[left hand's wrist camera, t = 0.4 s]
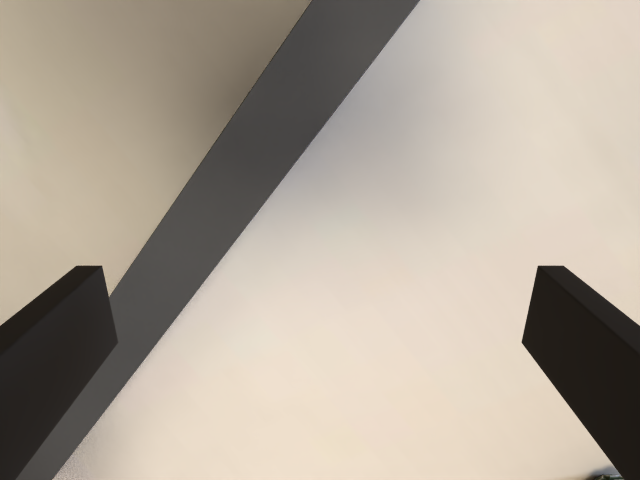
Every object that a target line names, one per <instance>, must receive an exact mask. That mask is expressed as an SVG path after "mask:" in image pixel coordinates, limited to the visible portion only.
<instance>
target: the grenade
mask: <svg viewBox="0 0 640 480" xmlns="http://www.w3.org/2000/svg"><path fill="white" fill-rule="evenodd" d="M595 480H624V478H623V477H621V476H619V475H601V476H600V477H598V478H596V479H595Z"/></svg>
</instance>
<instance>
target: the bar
mask: <svg viewBox="0 0 640 480" xmlns="http://www.w3.org/2000/svg"><path fill="white" fill-rule="evenodd" d="M419 1H420V0H312V1H311V3H310V4H309V6H308V7H307V9H306V10H305V11H304V13H303V14H302V16H301V17H300V19H299V20H298V22H297V23H296V25H295V26H294V28H293V29H292V31H291V32H290V33H289V35H288V36H287V38H286V39H285V41H284V42H283V44H282V45H281V47H280V48H279V50H278V51H277V52H276V54H275V55H274V57H273V58H272V60H271V61H270V63H269V64H268V66H267V67H266V69H265V70H264V71H263V73H262V74H261V76H260V77H259V79H258V80H257V82H256V83H255V85H254V86H253V88H252V89H251V90H250V92H249V93H248V95H247V96H246V98H245V99H244V101H243V102H242V104H241V105H240V107H239V108H238V109H237V111H236V112H235V114H234V115H233V117H232V118H231V120H230V121H229V123H228V124H227V126H226V127H225V128H224V130H223V131H222V133H221V134H220V136H219V137H218V139H217V140H216V142H215V143H214V145H213V146H212V148H211V149H210V150H209V152H208V153H207V155H206V156H205V158H204V159H203V161H202V162H201V164H200V165H199V167H198V168H197V169H196V171H195V172H194V174H193V175H192V177H191V178H190V180H189V181H188V183H187V184H186V186H185V187H184V188H183V190H182V191H181V193H180V194H179V196H178V197H177V199H176V200H175V202H174V203H173V205H172V206H171V207H170V209H169V210H168V212H167V213H166V215H165V216H164V218H163V219H162V221H161V222H160V224H159V225H158V226H157V228H156V229H155V231H154V232H153V234H152V235H151V237H150V238H149V240H148V241H147V243H146V244H145V246H144V247H143V248H142V250H141V251H140V253H139V254H138V256H137V257H136V259H135V260H134V262H133V263H132V265H131V266H130V267H129V269H128V270H127V272H126V273H125V275H124V276H123V278H122V279H121V281H120V282H119V284H118V285H117V286H116V288H115V289H114V291H113V292H112V294H111V295H110V297H109V301H110V306H111V310H112V315H113V320H114V324H115V329H116V334H117V338H118V344H117V345H116V346H115V348H114V349H113V350H112V352H111V353H110V354H109V356H108V357H107V358H106V360H105V361H104V362H103V364H102V365H101V366H100V368H99V369H98V370H97V372H96V373H95V374H94V376H93V377H92V378H91V380H90V381H89V382H88V384H87V385H86V386H85V388H84V389H83V390H82V392H81V393H80V394H79V396H78V397H77V398H76V400H75V401H74V402H73V404H72V405H71V406H70V408H69V409H68V410H67V412H66V413H65V414H64V416H63V417H62V418H61V420H60V421H59V422H58V424H57V425H56V426H55V428H54V429H53V430H52V432H51V433H50V434H49V436H48V437H47V438H46V440H45V441H44V442H43V444H42V445H41V446H40V448H39V449H38V450H37V452H36V453H35V454H34V456H33V457H32V458H31V460H30V461H29V462H28V464H27V465H26V466H25V468H24V469H23V470H22V472H21V473H20V474H19V476H18V477H17V478H16V480H52V479H53V478H54V477H55V475H56V474H57V473H58V471H59V470H60V469H61V468H62V466H63V465H64V464H65V462H66V461H67V460H68V458H69V457H70V456H71V454H72V453H73V452H74V451H75V449H76V448H77V447H78V445H79V444H80V443H81V441H82V440H83V439H84V438H85V436H86V435H87V434H88V432H89V431H90V430H91V428H92V427H93V426H94V425H95V423H96V422H97V421H98V419H99V418H100V417H101V415H102V414H103V413H104V411H105V410H106V409H107V408H108V406H109V405H110V404H111V402H112V401H113V400H114V398H115V397H116V396H117V395H118V393H119V392H120V391H121V389H122V388H123V387H124V385H125V384H126V383H127V381H128V380H129V379H130V378H131V376H132V375H133V374H134V372H135V371H136V370H137V368H138V367H139V366H140V365H141V363H142V362H143V361H144V359H145V358H146V357H147V355H148V354H149V353H150V352H151V350H152V349H153V348H154V346H155V345H156V344H157V342H158V341H159V340H160V338H161V337H162V336H163V335H164V333H165V332H166V331H167V329H168V328H169V327H170V325H171V324H172V323H173V322H174V320H175V319H176V318H177V316H178V315H179V314H180V312H181V311H182V310H183V309H184V307H185V306H186V305H187V303H188V302H189V301H190V299H191V298H192V297H193V295H194V294H195V293H196V292H197V290H198V289H199V288H200V286H201V285H202V284H203V282H204V281H205V280H206V279H207V277H208V276H209V275H210V273H211V272H212V271H213V269H214V268H215V267H216V265H217V264H218V263H219V262H220V260H221V259H222V258H223V256H224V255H225V254H226V252H227V251H228V250H229V249H230V247H231V246H232V245H233V243H234V242H235V241H236V239H237V238H238V237H239V236H240V234H241V233H242V232H243V230H244V229H245V228H246V226H247V225H248V224H249V222H250V221H251V220H252V219H253V217H254V216H255V215H256V213H257V212H258V211H259V209H260V208H261V207H262V206H263V204H264V203H265V202H266V200H267V199H268V198H269V196H270V195H271V194H272V193H273V191H274V190H275V189H276V187H277V186H278V185H279V183H280V182H281V181H282V179H283V178H284V177H285V176H286V174H287V173H288V172H289V170H290V169H291V168H292V166H293V165H294V164H295V163H296V161H297V160H298V159H299V157H300V156H301V155H302V153H303V152H304V151H305V149H306V148H307V147H308V146H309V144H310V143H311V142H312V140H313V139H314V138H315V136H316V135H317V134H318V133H319V131H320V130H321V129H322V127H323V126H324V125H325V123H326V122H327V121H328V120H329V118H330V117H331V116H332V114H333V113H334V112H335V110H336V109H337V108H338V106H339V105H340V104H341V103H342V101H343V100H344V99H345V97H346V96H347V95H348V93H349V92H350V91H351V90H352V88H353V87H354V86H355V84H356V83H357V82H358V80H359V79H360V78H361V77H362V75H363V74H364V73H365V71H366V70H367V69H368V67H369V66H370V65H371V63H372V62H373V61H374V60H375V58H376V57H377V56H378V54H379V53H380V52H381V50H382V49H383V48H384V47H385V45H386V44H387V43H388V41H389V40H390V39H391V37H392V36H393V35H394V33H395V32H396V31H397V30H398V28H399V27H400V26H401V24H402V23H403V22H404V20H405V19H406V18H407V17H408V15H409V14H410V13H411V11H412V10H413V9H414V7H415V6H416V5H417V4H418V2H419Z"/></svg>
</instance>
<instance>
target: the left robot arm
mask: <svg viewBox="0 0 640 480" xmlns="http://www.w3.org/2000/svg"><path fill="white" fill-rule="evenodd" d="M117 344H118V338H117V334H116V329H115V324H114V320H113V315H112V310H111V306H110V301H109V296H108V292H107V287H106V282H105V277H104V273H103V268H102V266H76V267H74V268H73V269H72V270H71V271H69V272H68V273H67V274H66V275H64V276H63V277H62V278H60V279H59V280H58V281H57V282H55V283H54V284H53V285H52V286H50V287H49V288H48V289H46V290H45V291H44V292H43V293H41V294H40V295H39V296H38V297H36V298H35V299H34V300H33V301H31V302H30V303H29V304H27V305H26V306H25V307H24V308H22V309H21V310H20V311H19V312H17V313H16V314H15V315H14V316H12V317H11V318H10V319H8V320H7V321H6V322H5V323H3V324H2V325H1V326H0V480H16V478H17V477H18V476H19V474H20V473H21V472H22V470H23V469H24V468H25V466H26V465H27V464H28V462H29V461H30V460H31V458H32V457H33V456H34V454H35V453H36V452H37V450H38V449H39V448H40V446H41V445H42V444H43V442H44V441H45V440H46V438H47V437H48V436H49V434H50V433H51V432H52V430H53V429H54V428H55V426H56V425H57V424H58V422H59V421H60V420H61V418H62V417H63V416H64V414H65V413H66V412H67V410H68V409H69V408H70V406H71V405H72V404H73V402H74V401H75V400H76V398H77V397H78V396H79V394H80V393H81V392H82V390H83V389H84V388H85V386H86V385H87V384H88V382H89V381H90V380H91V378H92V377H93V376H94V374H95V373H96V372H97V370H98V369H99V368H100V366H101V365H102V364H103V362H104V361H105V360H106V358H107V357H108V356H109V354H110V353H111V352H112V350H113V349H114V348H115V346H116V345H117ZM522 344H523V345H524V346H525V348H526V349H527V350H528V352H529V353H530V354H531V356H532V357H533V358H534V360H535V361H536V362H537V364H538V365H539V366H540V368H541V369H542V370H543V372H544V373H545V374H546V376H547V377H548V378H549V380H550V381H551V382H552V384H553V385H554V386H555V388H556V389H557V390H558V392H559V393H560V394H561V396H562V397H563V398H564V400H565V401H566V402H567V404H568V405H569V406H570V408H571V409H572V410H573V412H574V413H575V414H576V416H577V417H578V418H579V420H580V421H581V422H582V424H583V425H584V426H585V428H586V429H587V430H588V432H589V433H590V434H591V436H592V437H593V438H594V440H595V441H596V442H597V444H598V445H599V446H600V448H601V449H602V450H603V452H604V453H605V454H606V456H607V457H608V458H609V460H610V461H611V462H612V464H613V465H614V466H615V468H616V469H617V470H618V472H619V473H620V474H621V476H622V477H623V478H624V480H640V326H639V325H638V324H637V323H635V322H634V321H633V320H632V319H630V318H629V317H628V316H626V315H625V314H624V313H623V312H621V311H620V310H619V309H618V308H616V307H615V306H614V305H613V304H611V303H610V302H609V301H607V300H606V299H605V298H604V297H602V296H601V295H600V294H599V293H597V292H596V291H595V290H594V289H592V288H591V287H590V286H588V285H587V284H586V283H585V282H583V281H582V280H581V279H580V278H578V277H577V276H576V275H574V274H573V273H572V272H571V271H569V270H568V269H567V268H566V267H564V266H538V268H537V273H536V277H535V282H534V287H533V292H532V296H531V301H530V306H529V310H528V315H527V320H526V324H525V329H524V334H523V338H522Z"/></svg>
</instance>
